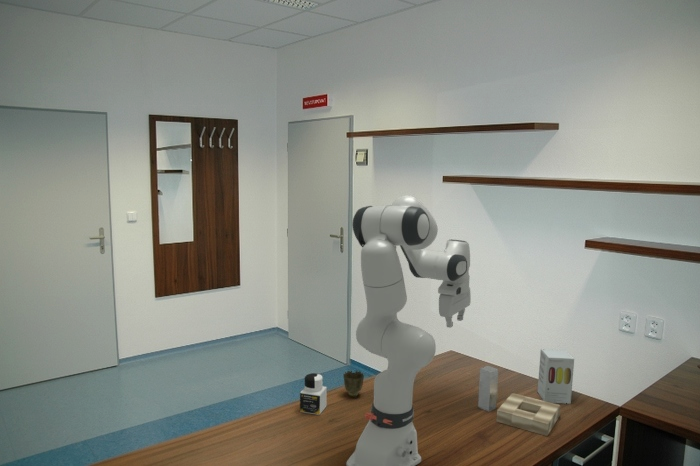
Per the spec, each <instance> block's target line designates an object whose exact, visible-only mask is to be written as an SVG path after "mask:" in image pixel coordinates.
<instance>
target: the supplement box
mask: <svg viewBox="0 0 700 466" xmlns="http://www.w3.org/2000/svg"><path fill="white" fill-rule="evenodd" d="M539 353H540V355H539V365H538V366H539V367H538V368H539V370H538V379H537V380H538V384H537V393H538V395H539V396H540V397H541V399H542V401H546V402H550V403H554V404H566V403H567V404H568V405H569V404H570V405H571V403H572V389H573V378H574V367H575V357H573V356H572V355H571V354H570V353H569V351H567V350H566V349H550V348H548V349H547V348H540V352H539Z"/></svg>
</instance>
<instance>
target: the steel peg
mask: <svg viewBox="0 0 700 466" xmlns="http://www.w3.org/2000/svg"><path fill="white" fill-rule="evenodd" d="M498 382H499V369H498V368H496V367H493V366H490V365H485V366H484V367H483V366H482V367H480V368H479V382H478V402H477V408H479V409H481V410H483V411H485V412H488V413H489V412H490V413H491V412H492V411H495V410H496V409H497V401H498V387H499V386H498V384H499V383H498Z"/></svg>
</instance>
